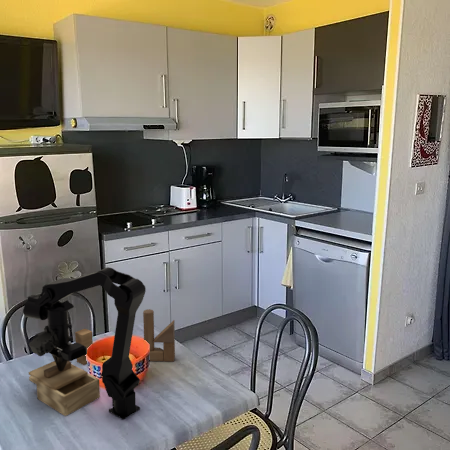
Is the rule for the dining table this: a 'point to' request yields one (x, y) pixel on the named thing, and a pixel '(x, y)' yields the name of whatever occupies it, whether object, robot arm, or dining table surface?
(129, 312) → the robot arm
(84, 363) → the brown block
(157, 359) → the wooden block
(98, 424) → the dining table surface
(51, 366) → the lid
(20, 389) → the dining table surface
